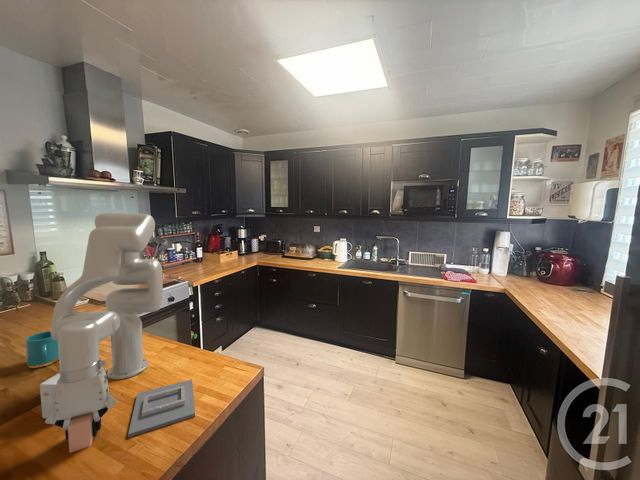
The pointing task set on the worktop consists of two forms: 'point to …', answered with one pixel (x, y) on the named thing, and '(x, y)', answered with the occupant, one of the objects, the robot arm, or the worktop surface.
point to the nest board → (162, 407)
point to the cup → (41, 349)
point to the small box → (48, 395)
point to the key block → (80, 432)
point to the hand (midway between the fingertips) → (84, 435)
